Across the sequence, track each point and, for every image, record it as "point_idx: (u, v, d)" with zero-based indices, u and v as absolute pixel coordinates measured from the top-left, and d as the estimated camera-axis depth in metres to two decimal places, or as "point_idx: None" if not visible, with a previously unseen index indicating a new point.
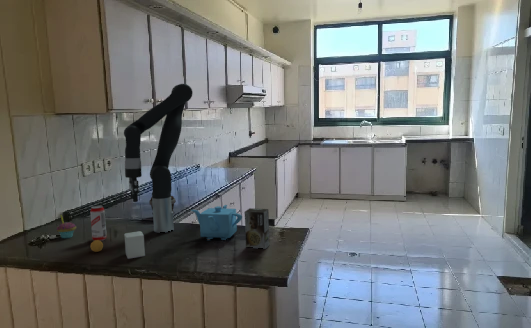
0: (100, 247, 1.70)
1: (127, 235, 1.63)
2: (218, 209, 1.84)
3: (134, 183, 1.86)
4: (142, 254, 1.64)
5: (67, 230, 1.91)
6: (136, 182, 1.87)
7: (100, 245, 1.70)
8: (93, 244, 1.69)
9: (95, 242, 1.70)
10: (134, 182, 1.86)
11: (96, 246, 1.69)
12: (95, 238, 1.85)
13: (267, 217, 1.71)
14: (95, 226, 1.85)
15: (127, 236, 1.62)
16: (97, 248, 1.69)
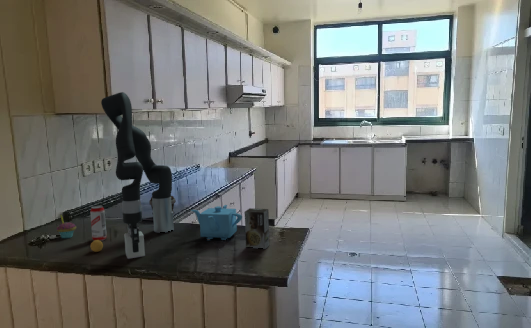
0: (100, 247, 1.70)
1: (127, 235, 1.63)
2: (218, 209, 1.84)
3: (134, 232, 1.58)
4: (142, 254, 1.64)
5: (67, 230, 1.91)
6: (136, 230, 1.59)
7: (100, 245, 1.70)
8: (93, 244, 1.69)
9: (95, 242, 1.70)
10: (134, 231, 1.58)
11: (96, 246, 1.69)
12: (95, 238, 1.85)
13: (267, 217, 1.71)
14: (95, 226, 1.85)
15: (127, 236, 1.62)
16: (97, 248, 1.69)
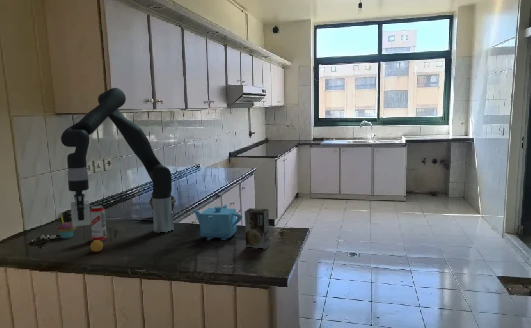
0: (100, 247, 1.70)
1: (73, 203, 1.61)
2: (218, 209, 1.84)
3: (78, 199, 1.57)
4: (88, 223, 1.62)
5: (67, 230, 1.91)
6: (81, 198, 1.57)
7: (100, 245, 1.70)
8: (93, 244, 1.69)
9: (95, 242, 1.70)
10: (78, 198, 1.57)
11: (96, 246, 1.69)
12: (95, 238, 1.85)
13: (267, 217, 1.71)
14: (95, 226, 1.85)
15: (72, 204, 1.61)
16: (97, 248, 1.69)
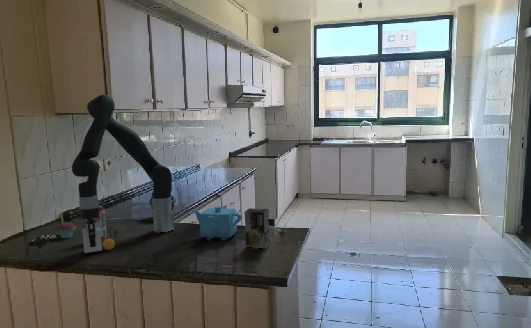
0: (107, 248, 1.71)
1: (85, 231, 1.68)
2: (218, 209, 1.84)
3: (90, 227, 1.63)
4: (99, 249, 1.69)
5: (67, 230, 1.91)
6: (92, 226, 1.64)
7: (109, 248, 1.72)
8: (112, 242, 1.72)
9: (113, 244, 1.73)
10: (90, 226, 1.63)
11: (110, 245, 1.71)
12: None
13: (267, 217, 1.71)
14: None
15: (84, 231, 1.67)
16: (107, 245, 1.71)
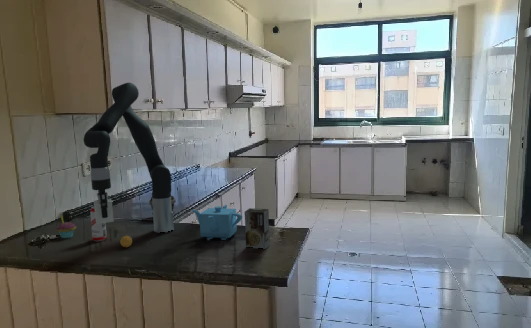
0: (127, 239, 1.75)
1: (96, 202, 1.69)
2: (218, 209, 1.84)
3: (102, 197, 1.64)
4: (111, 220, 1.70)
5: (67, 230, 1.91)
6: (104, 196, 1.64)
7: (125, 239, 1.74)
8: (123, 245, 1.74)
9: (121, 243, 1.74)
10: (102, 196, 1.64)
11: (125, 243, 1.74)
12: (95, 238, 1.85)
13: (267, 217, 1.71)
14: (95, 226, 1.85)
15: (96, 202, 1.68)
16: (128, 242, 1.74)
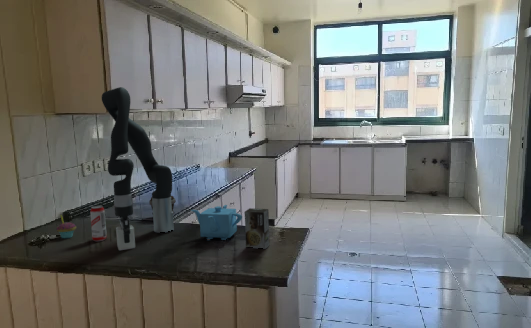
0: None
1: (119, 229, 1.74)
2: (218, 209, 1.84)
3: (125, 223, 1.69)
4: (132, 246, 1.75)
5: (67, 230, 1.91)
6: (127, 222, 1.69)
7: None
8: None
9: None
10: (125, 222, 1.69)
11: None
12: (95, 238, 1.85)
13: (267, 217, 1.71)
14: (95, 226, 1.85)
15: (118, 229, 1.73)
16: None
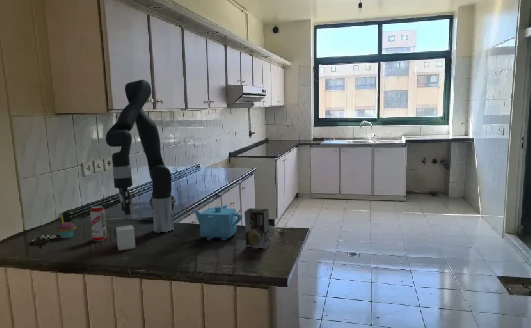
0: None
1: (119, 229, 1.74)
2: (218, 209, 1.84)
3: (125, 194, 1.67)
4: (132, 246, 1.75)
5: (67, 230, 1.91)
6: (127, 193, 1.68)
7: None
8: None
9: None
10: (125, 193, 1.67)
11: None
12: (95, 238, 1.85)
13: (267, 217, 1.71)
14: (95, 226, 1.85)
15: (118, 229, 1.73)
16: None
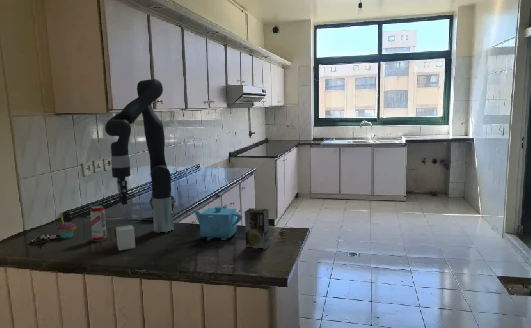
0: None
1: (119, 229, 1.74)
2: (218, 209, 1.84)
3: (122, 183, 1.67)
4: (132, 246, 1.75)
5: (67, 230, 1.91)
6: (124, 182, 1.67)
7: None
8: None
9: None
10: (122, 182, 1.67)
11: None
12: (95, 238, 1.85)
13: (267, 217, 1.71)
14: (95, 226, 1.85)
15: (118, 229, 1.73)
16: None
